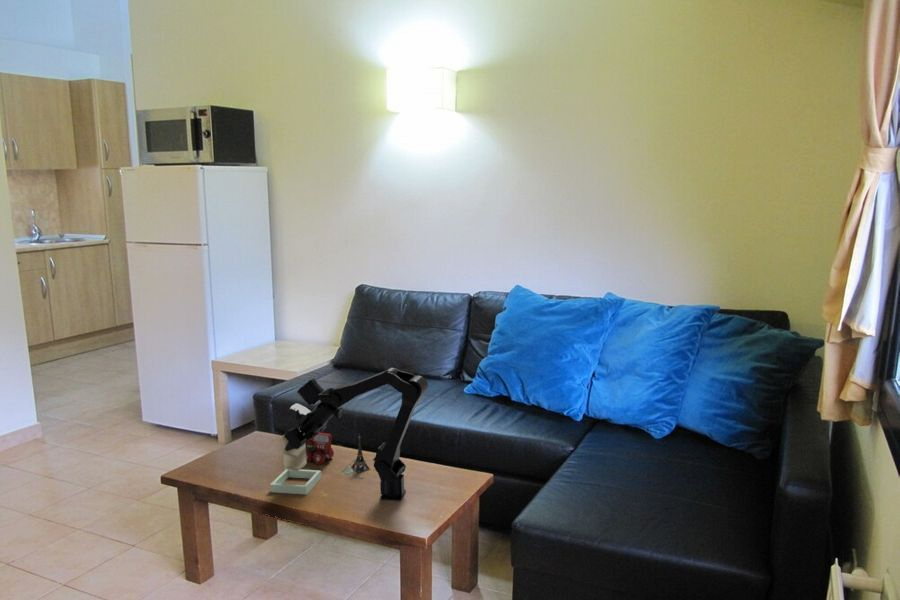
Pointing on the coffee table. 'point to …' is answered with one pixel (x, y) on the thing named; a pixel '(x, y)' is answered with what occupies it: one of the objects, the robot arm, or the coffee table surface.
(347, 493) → the coffee table surface
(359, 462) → the eiffel tower figurine
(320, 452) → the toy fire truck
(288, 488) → the frame
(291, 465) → the maple block
